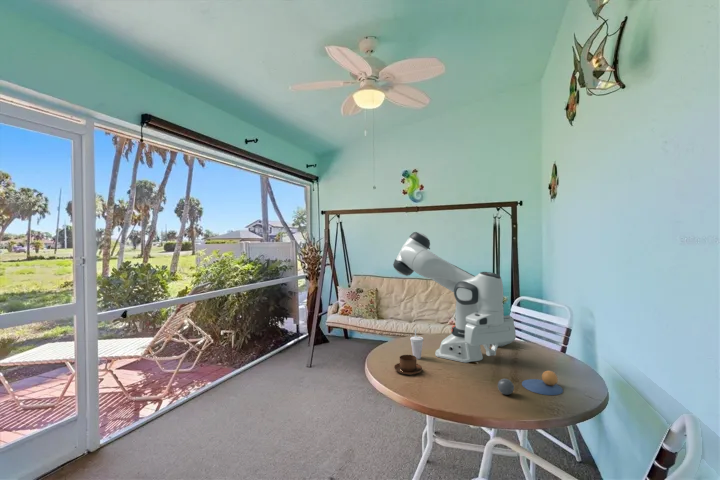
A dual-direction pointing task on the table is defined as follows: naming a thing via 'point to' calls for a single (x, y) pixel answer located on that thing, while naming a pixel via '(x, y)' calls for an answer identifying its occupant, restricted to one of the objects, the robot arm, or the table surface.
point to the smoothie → (416, 345)
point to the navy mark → (541, 387)
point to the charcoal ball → (505, 386)
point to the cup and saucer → (408, 365)
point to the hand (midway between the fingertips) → (490, 355)
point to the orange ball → (549, 378)
